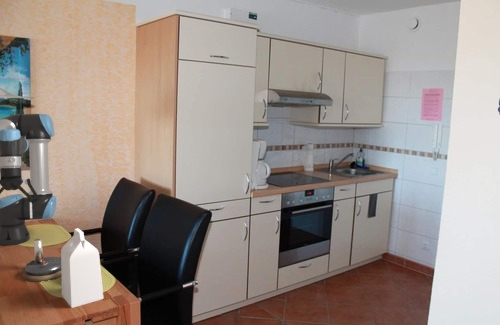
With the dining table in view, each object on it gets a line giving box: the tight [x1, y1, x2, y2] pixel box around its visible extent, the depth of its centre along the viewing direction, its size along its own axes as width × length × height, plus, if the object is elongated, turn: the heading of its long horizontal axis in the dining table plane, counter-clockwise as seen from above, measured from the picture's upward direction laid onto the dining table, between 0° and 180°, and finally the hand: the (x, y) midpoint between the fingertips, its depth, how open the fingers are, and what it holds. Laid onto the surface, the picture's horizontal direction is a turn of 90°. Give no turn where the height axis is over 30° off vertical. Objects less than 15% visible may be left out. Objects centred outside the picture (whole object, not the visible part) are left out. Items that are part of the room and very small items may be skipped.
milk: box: [60, 227, 104, 309], centre depth 158 cm, size 12×12×26 cm
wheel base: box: [22, 268, 62, 283], centre depth 180 cm, size 17×17×2 cm
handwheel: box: [24, 238, 61, 276], centre depth 179 cm, size 15×15×11 cm
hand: (12, 219), depth 173 cm, fingers open, 13 cm apart
